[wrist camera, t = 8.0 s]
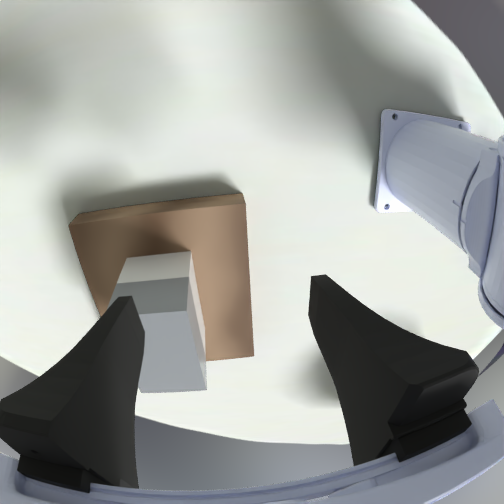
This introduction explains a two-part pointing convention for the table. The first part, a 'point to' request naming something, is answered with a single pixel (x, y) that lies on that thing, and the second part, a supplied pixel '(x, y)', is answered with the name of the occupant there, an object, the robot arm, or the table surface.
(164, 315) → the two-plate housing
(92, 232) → the walnut stand
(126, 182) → the table surface
